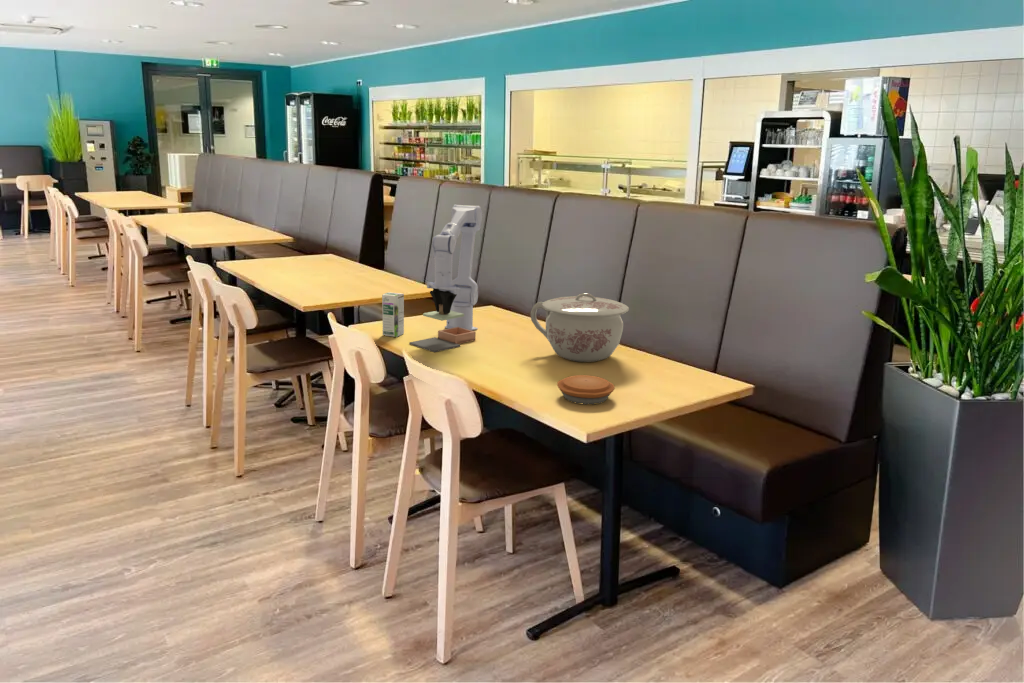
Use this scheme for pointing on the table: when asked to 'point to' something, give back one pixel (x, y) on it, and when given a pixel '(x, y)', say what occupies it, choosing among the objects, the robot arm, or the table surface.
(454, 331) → the dish
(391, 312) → the syrup box
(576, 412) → the table surface
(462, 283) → the robot arm
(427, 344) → the mat
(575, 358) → the chamber pot
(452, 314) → the lid
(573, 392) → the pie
